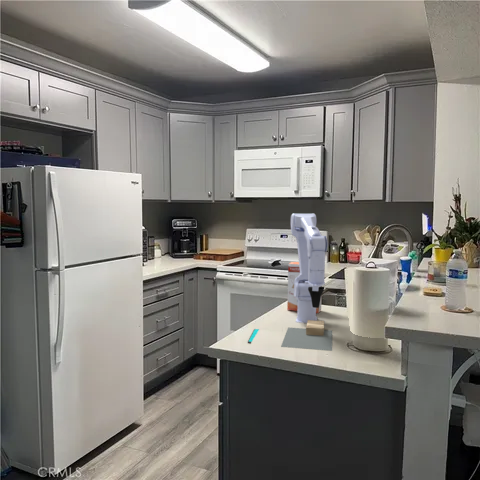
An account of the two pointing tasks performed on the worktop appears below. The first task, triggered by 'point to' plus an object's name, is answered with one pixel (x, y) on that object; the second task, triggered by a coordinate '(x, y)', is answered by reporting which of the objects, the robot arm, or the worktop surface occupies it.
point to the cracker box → (292, 274)
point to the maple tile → (315, 327)
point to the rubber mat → (307, 340)
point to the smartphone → (253, 335)
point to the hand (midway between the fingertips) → (315, 307)
